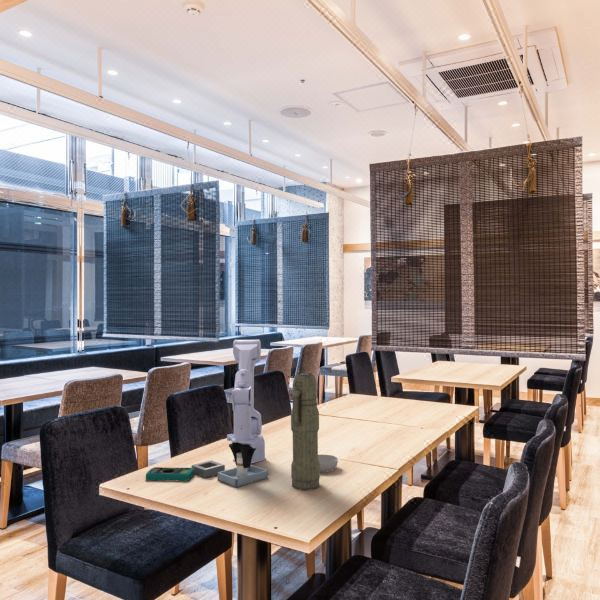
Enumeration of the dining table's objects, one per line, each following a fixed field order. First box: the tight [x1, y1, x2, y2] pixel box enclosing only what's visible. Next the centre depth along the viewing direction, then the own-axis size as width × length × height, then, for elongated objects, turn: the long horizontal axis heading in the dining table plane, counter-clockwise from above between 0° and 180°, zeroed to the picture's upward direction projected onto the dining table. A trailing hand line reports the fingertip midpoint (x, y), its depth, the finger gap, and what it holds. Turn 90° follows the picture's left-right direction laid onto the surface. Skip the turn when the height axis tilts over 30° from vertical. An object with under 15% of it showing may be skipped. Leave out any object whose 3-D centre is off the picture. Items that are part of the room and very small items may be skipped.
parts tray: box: [216, 464, 269, 489], centre depth 177 cm, size 13×10×2 cm
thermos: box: [290, 372, 321, 491], centre depth 171 cm, size 9×12×35 cm
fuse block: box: [191, 459, 226, 479], centre depth 185 cm, size 8×8×3 cm
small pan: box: [318, 454, 339, 473], centre depth 190 cm, size 11×18×4 cm, turn 48°
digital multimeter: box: [145, 466, 195, 482], centre depth 180 cm, size 7×15×3 cm, turn 85°
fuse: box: [236, 452, 248, 478], centre depth 177 cm, size 4×4×8 cm
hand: (242, 466), depth 177 cm, fingers closed on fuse, 3 cm apart
